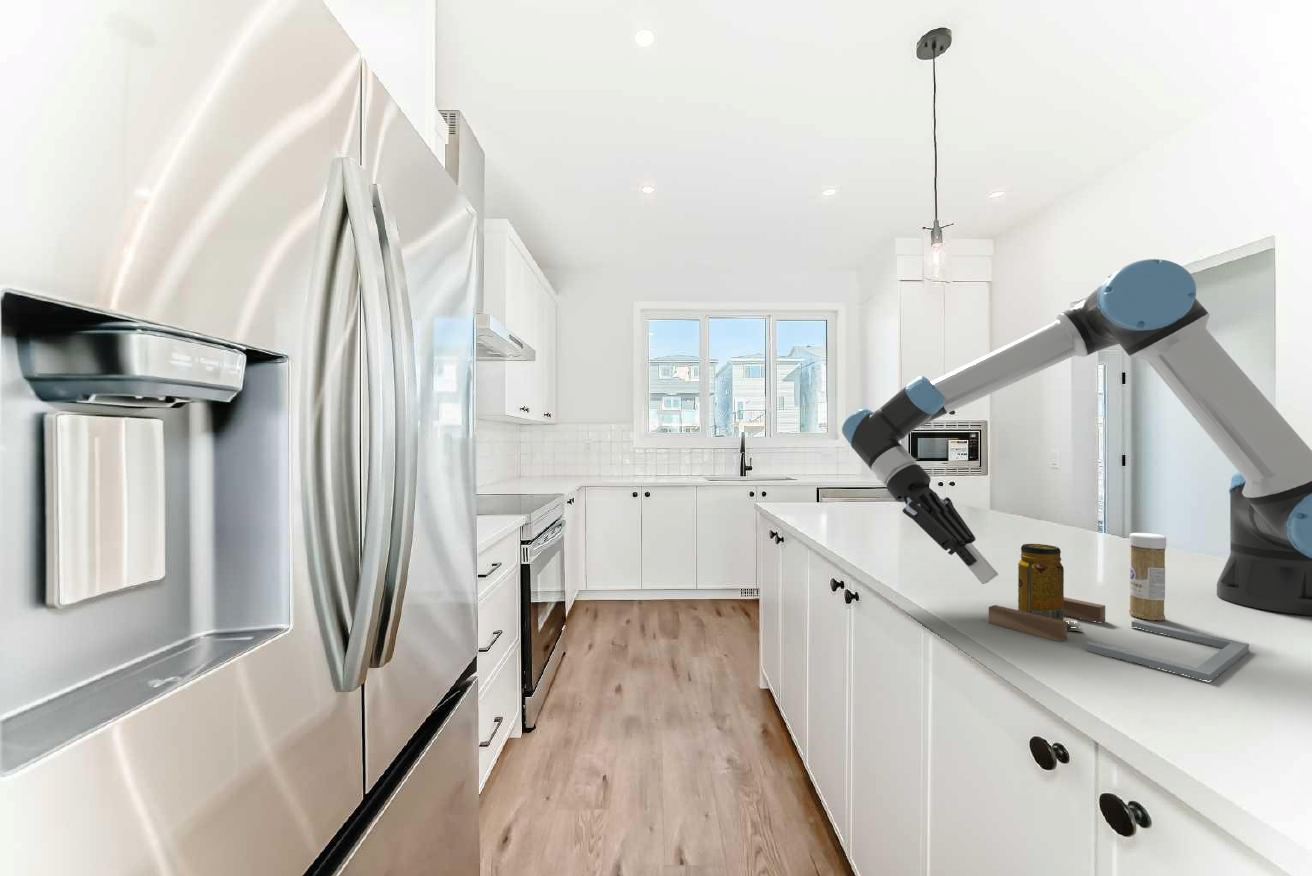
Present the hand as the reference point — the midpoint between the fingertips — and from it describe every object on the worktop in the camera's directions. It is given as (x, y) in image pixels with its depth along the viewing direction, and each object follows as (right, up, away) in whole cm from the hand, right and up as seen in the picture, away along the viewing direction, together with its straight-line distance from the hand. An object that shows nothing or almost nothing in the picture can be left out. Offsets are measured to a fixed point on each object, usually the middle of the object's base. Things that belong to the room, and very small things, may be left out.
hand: (990, 579), depth 99 cm
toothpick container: (+23, -5, -5) cm, 24 cm away
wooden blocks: (+5, -5, -7) cm, 10 cm away
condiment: (+5, -5, -7) cm, 10 cm away
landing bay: (+13, -5, -19) cm, 23 cm away
